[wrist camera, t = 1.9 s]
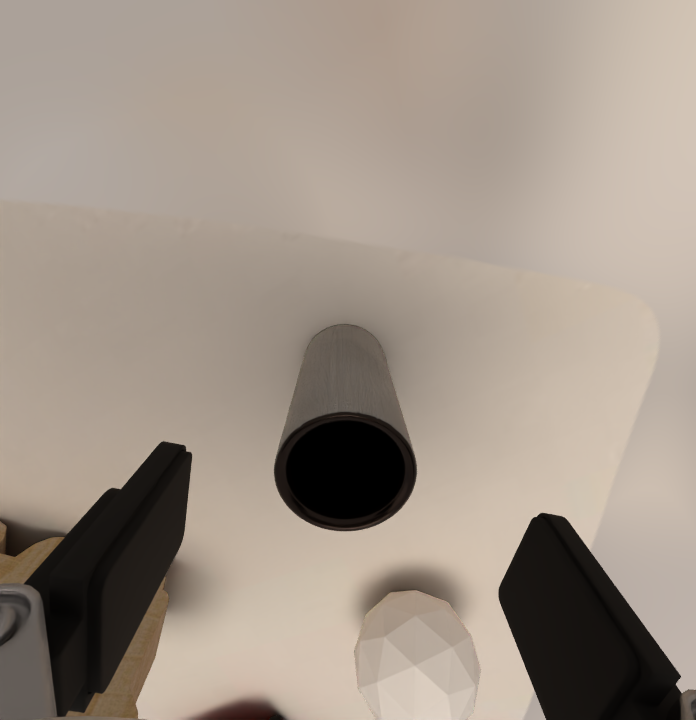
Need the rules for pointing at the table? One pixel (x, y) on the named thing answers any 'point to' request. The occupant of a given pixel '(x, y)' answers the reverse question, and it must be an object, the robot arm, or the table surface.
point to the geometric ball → (416, 660)
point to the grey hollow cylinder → (345, 436)
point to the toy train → (138, 655)
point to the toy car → (275, 718)
